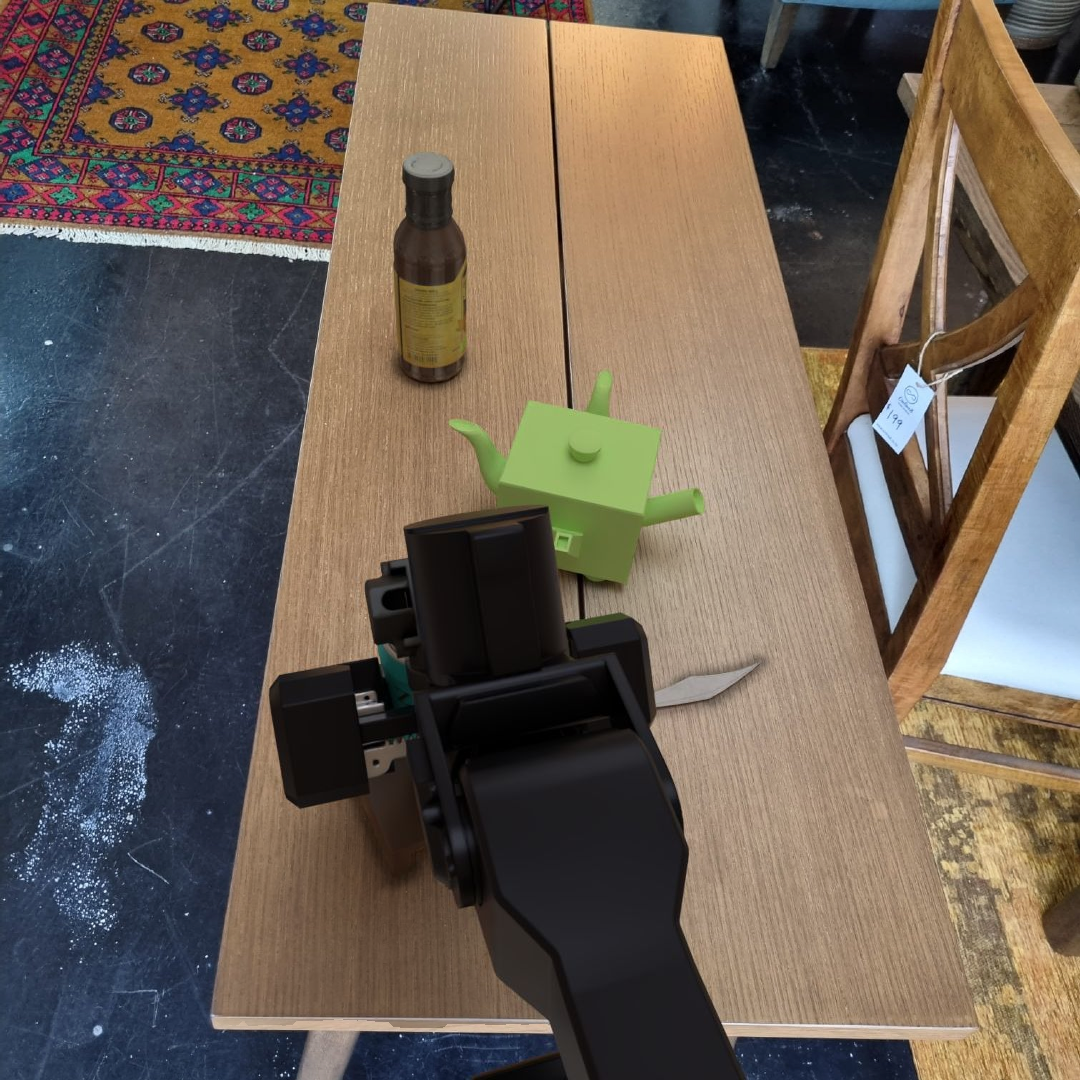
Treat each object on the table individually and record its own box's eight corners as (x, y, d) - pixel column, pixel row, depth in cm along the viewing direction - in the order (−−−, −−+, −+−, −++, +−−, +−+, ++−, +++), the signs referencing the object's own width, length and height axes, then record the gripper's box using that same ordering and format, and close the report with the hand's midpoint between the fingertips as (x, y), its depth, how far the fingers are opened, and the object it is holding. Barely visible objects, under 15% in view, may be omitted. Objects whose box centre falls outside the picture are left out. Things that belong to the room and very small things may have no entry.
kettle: (445, 508, 82) (447, 407, 73) (585, 448, 87) (602, 348, 79) (548, 640, 74) (563, 545, 66) (693, 564, 80) (725, 468, 71)
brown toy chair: (549, 807, 66) (565, 735, 58) (394, 879, 62) (388, 811, 54) (490, 699, 71) (497, 619, 63) (343, 759, 67) (331, 682, 59)
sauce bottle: (477, 373, 92) (486, 177, 77) (417, 394, 90) (414, 196, 74) (443, 333, 96) (445, 137, 80) (385, 352, 93) (375, 154, 78)
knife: (518, 734, 69) (519, 727, 68) (511, 703, 71) (512, 697, 70) (773, 689, 73) (776, 682, 72) (761, 661, 75) (764, 654, 74)
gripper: (679, 527, 44) (578, 509, 59) (242, 599, 40) (255, 560, 55) (707, 770, 45) (602, 691, 60) (287, 865, 41) (287, 755, 56)
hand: (443, 671), depth 58 cm, fingers closed on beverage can, 6 cm apart
